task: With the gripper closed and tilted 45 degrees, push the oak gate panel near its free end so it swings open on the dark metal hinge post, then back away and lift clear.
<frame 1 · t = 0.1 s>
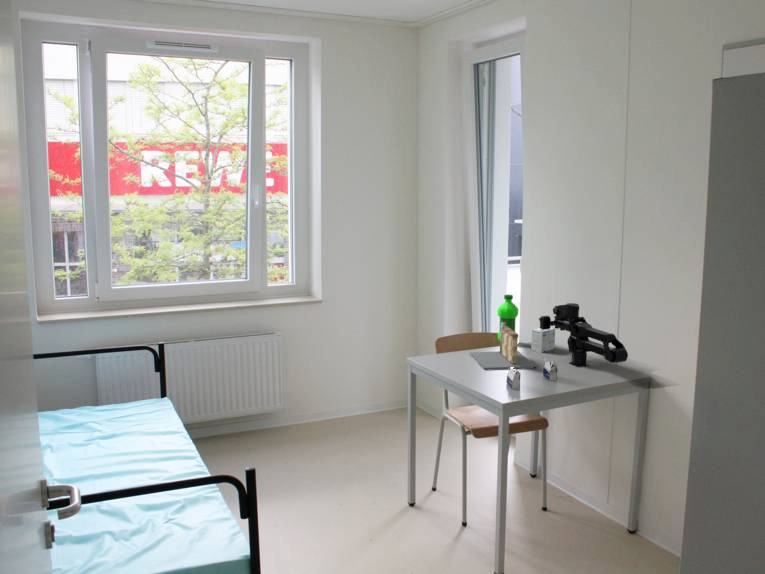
hand: (547, 317, 331), 17 cm above the table, tool horizontal, fingers open, 9 cm apart
plastic bottle: (506, 343, 348), on the table
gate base: (501, 361, 316), on the table
light bulb box: (542, 350, 337), on the table
gate panel: (509, 344, 314), point 8 cm above the table, hinge at 0.0°
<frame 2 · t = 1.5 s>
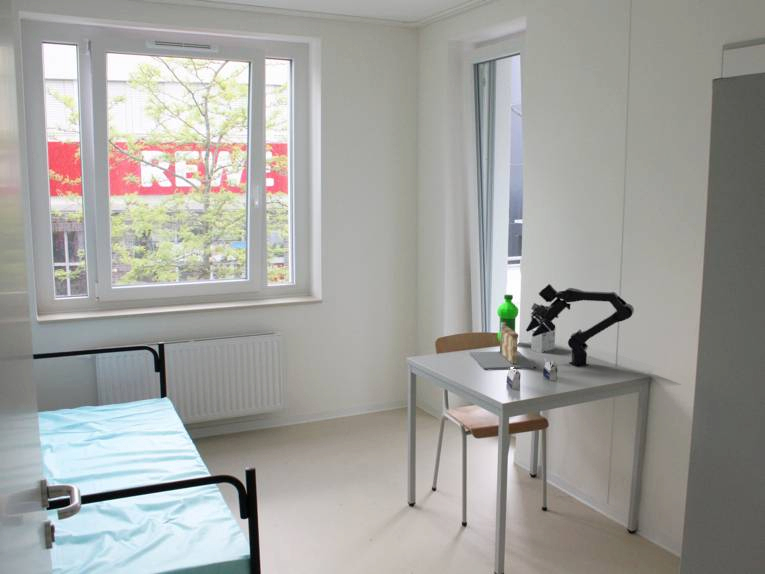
hand: (529, 333, 312), 14 cm above the table, tool tilted 45°, fingers open, 9 cm apart
nothing on the table moved.
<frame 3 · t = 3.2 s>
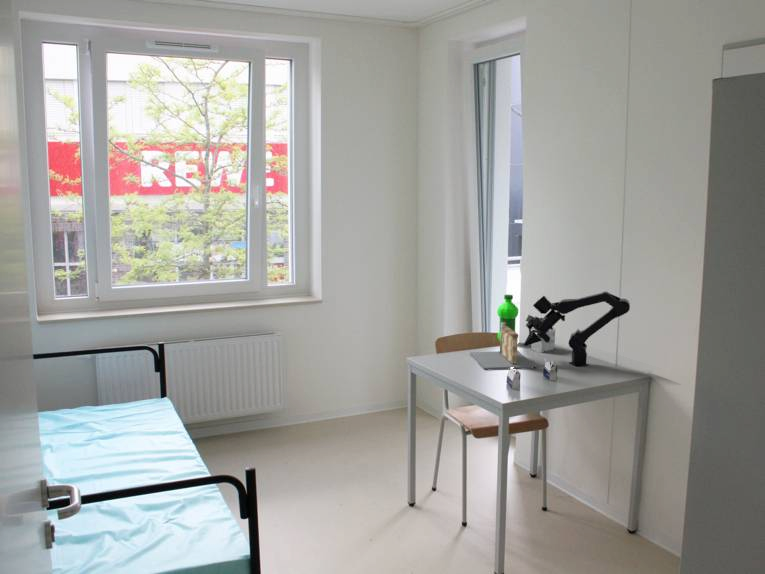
hand: (524, 345, 312), 8 cm above the table, tool tilted 45°, fingers closed
nothing on the table moved.
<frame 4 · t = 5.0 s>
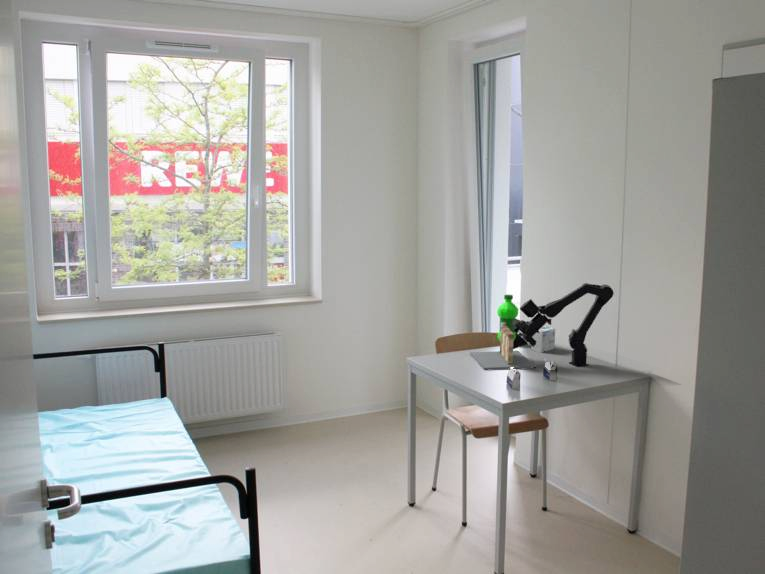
hand: (510, 348, 312), 7 cm above the table, tool tilted 45°, fingers closed, pressing on gate panel
gate panel: (507, 344, 314), point 8 cm above the table, hinge at 5.8°, touching gripper
everything else where it was.
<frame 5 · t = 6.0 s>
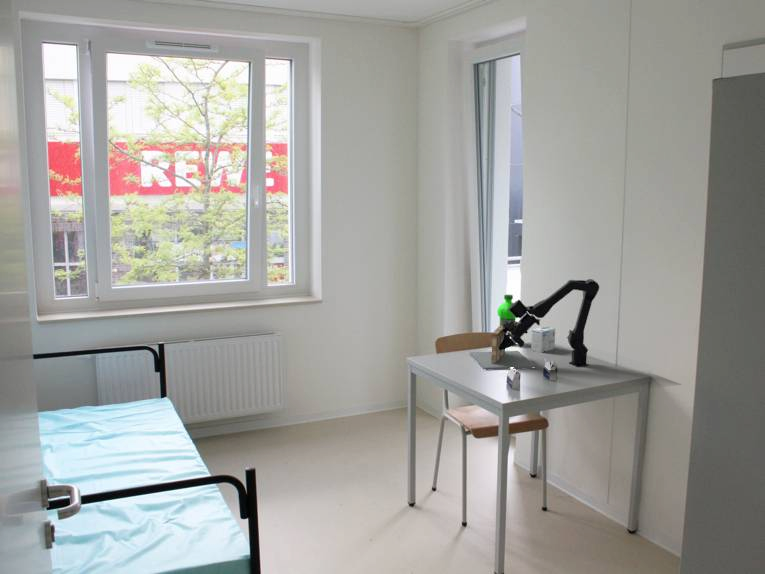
hand: (499, 349, 311), 7 cm above the table, tool tilted 45°, fingers closed
gate panel: (498, 343, 315), point 8 cm above the table, hinge at 29.0°, touching gripper
everything else where it was.
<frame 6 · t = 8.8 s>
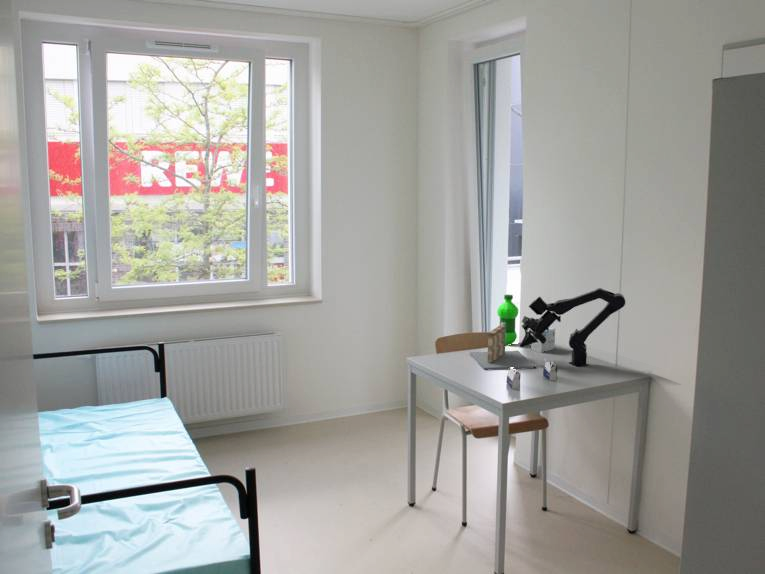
hand: (520, 346, 312), 8 cm above the table, tool tilted 45°, fingers closed
gate panel: (495, 343, 315), point 8 cm above the table, hinge at 34.8°
everything else where it was.
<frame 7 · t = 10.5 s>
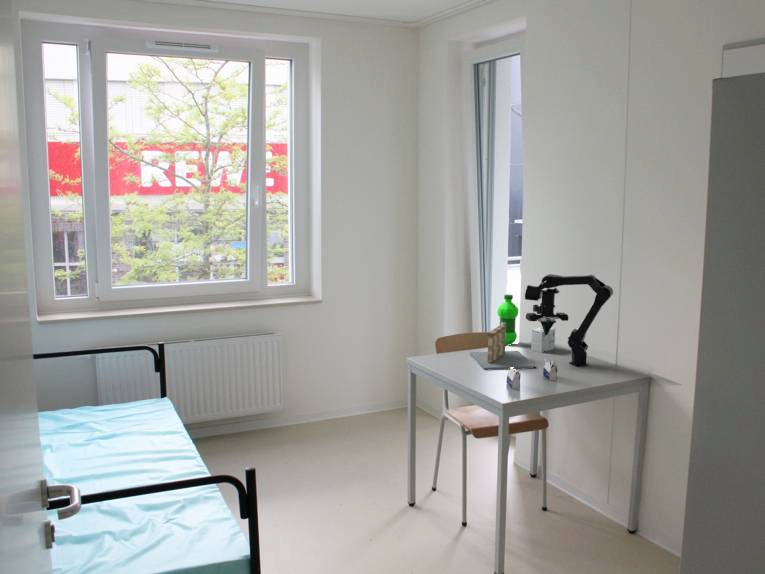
hand: (545, 334, 316), 12 cm above the table, tool pointing down, fingers closed
nothing on the table moved.
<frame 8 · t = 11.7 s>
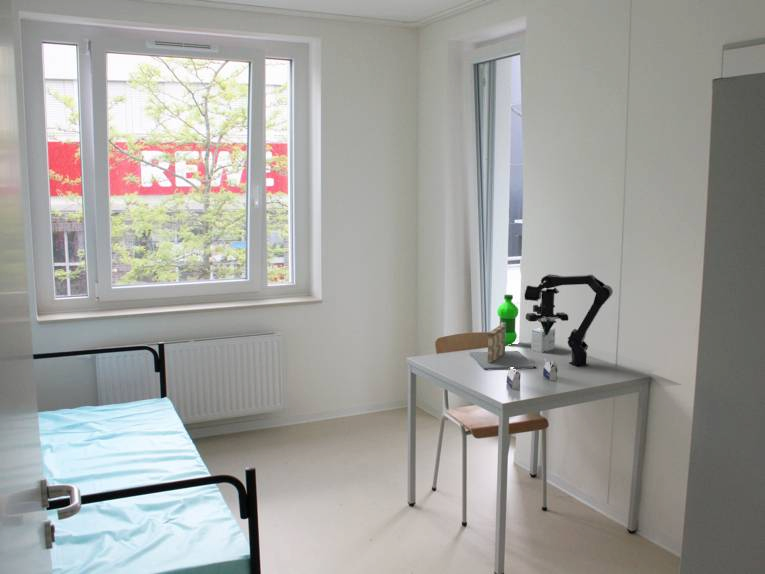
hand: (546, 335, 316), 12 cm above the table, tool pointing down, fingers closed
nothing on the table moved.
at the end: gate panel at +35° (first picture: +0°); light bulb box moved 0.3 cm from its start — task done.
